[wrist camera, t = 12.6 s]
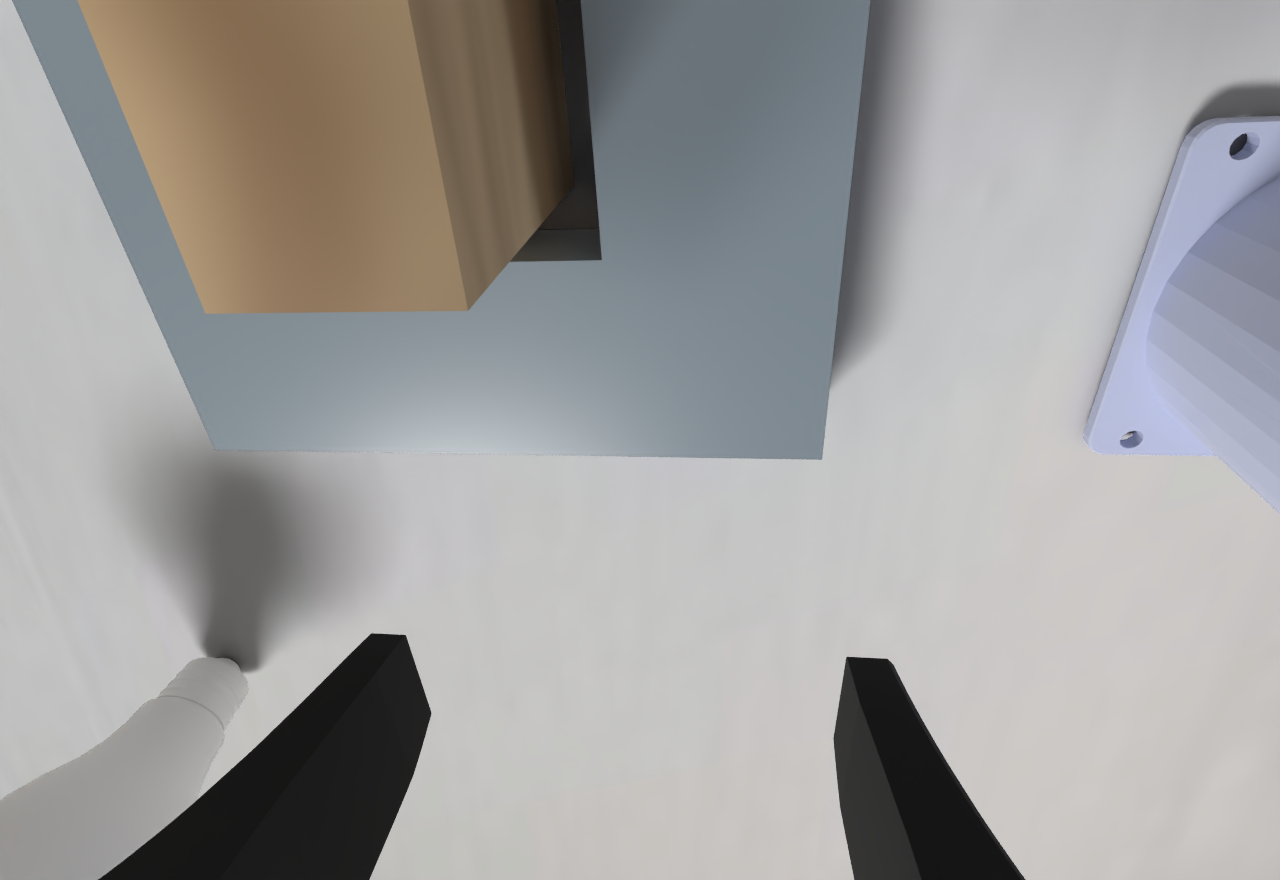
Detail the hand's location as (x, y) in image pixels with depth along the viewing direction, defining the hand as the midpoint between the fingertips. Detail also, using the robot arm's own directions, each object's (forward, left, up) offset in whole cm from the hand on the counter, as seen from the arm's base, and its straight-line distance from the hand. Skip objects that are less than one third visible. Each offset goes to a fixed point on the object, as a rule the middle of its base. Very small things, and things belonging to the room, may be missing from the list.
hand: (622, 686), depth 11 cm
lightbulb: (+18, +12, -10) cm, 24 cm away
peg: (+4, -8, -9) cm, 13 cm away
